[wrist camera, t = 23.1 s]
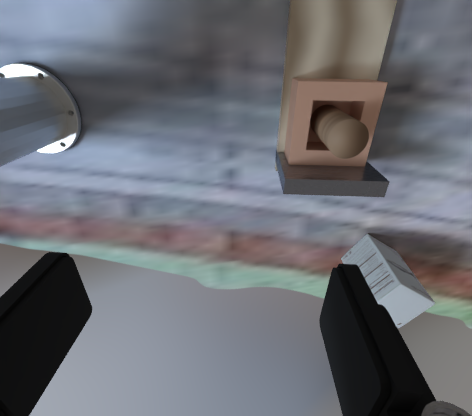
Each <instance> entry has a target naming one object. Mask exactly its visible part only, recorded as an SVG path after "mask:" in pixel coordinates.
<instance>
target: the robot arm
mask: <svg viewBox="0 0 472 416" xmlns="http://www.w3.org/2000/svg"><path fill="white" fill-rule="evenodd" d="M73 112H74V113H73ZM80 131H81V116H80V112H79V109H78V106H77V104H76V101H75V100H74V98H73V96H72V94H71V93H70V92H69V90H68V89H67V88H66V86H65V85H64V84H63V83H62V82H61V81H60V80H59V79H58V78H56V77H55V76H54V75H52V74H51V73H50V72H48V71H46V70H44V69H42V68H40V67H38V66H35V65H31V64H25V63H13V64H9V65H5V66H3V67H1V68H0V167H1V166H3V165H5V164H7V163H10V162H12V161H14V160H16V159H19V158H21V157H23V156H26V155H28V154H30V153H32V152H35V151H38V152H41V153H49V154H51V153H59V152H62V151H64V150H66V149H68V148H70V147H71V146H72V145H74V143H75V142H76V141H77V139H78V137H79V135H80ZM91 313H92V306H91V303H90V300H89V298H88V295H87V293H86V290H85V288H84V285H83V283H82V280H81V278H80V275H79V272H78V270H77V267H76V265H75V262H74V260H73V258H72V257H70V256H69V254H67V253H58V252H49V253H47V254H45V255H44V256H43V257H42V258H41V259H40V260H39V261H38V262H37V263H36V264H35V265H33V266H32V267H31V268H30V269H29V270H28V271H27V272H26V273H25V274H24V275H23V276H22V277H21V278H20V279H19V280H18V281H17V282H16V283H15V284H14V285H13V286H12V287H11V288H10V289H9V290H8V291H6V292H5V294H3V295H2V296H1V297H0V416H29V414H30V413H31V412H32V410H33V408H34V407H35V405H36V403H37V402H38V400H39V399H40V397H41V395H42V394H43V392H44V391H45V389H46V387H47V386H48V384H49V382H50V381H51V379H52V378H53V376H54V374H55V373H56V371H57V369H58V368H59V366H60V364H61V363H62V361H63V360H64V358H65V356H66V355H67V353H68V352H69V350H70V348H71V347H72V345H73V343H74V342H75V340H76V339H77V337H78V335H79V334H80V332H81V331H82V329H83V327H84V326H85V324H86V322H87V321H88V319H89V317H90V315H91ZM320 328H321V332H322V336H323V340H324V344H325V348H326V352H327V356H328V359H329V363H330V367H331V371H332V375H333V379H334V383H335V387H336V390H337V394H338V398H339V402H340V406H341V410H342V414H343V416H471V415H470V414H469V413H467V412H466V411H465V410H463V409H461V408H459V407H457V406H455V405H453V404H451V403H447V402H444V401H436V399H435V397H434V395H433V394H432V392H431V390H430V388H429V387H428V384H427V383H426V381H425V379H424V377H423V375H422V373H421V371H420V370H419V368H418V366H417V364H416V362H415V360H414V358H413V357H412V355H411V353H410V351H409V349H408V347H407V346H406V344H405V342H404V340H403V338H402V336H401V334H400V333H399V331H398V329H397V327H396V325H395V323H394V321H393V320H392V318H391V316H390V314H389V312H388V311H387V309H386V308H385V307H384V306H383V305H380V304H378V303H377V301H376V299H375V297H374V295H373V293H372V292H371V290H370V288H369V286H368V284H367V282H366V280H365V278H364V276H363V274H362V272H361V270H360V268H359V267H358V265H356V264H339V265H338V267H337V268H333V269H332V272H331V276H330V280H329V284H328V288H327V292H326V296H325V299H324V303H323V307H322V311H321V315H320Z"/></svg>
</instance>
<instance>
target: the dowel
mask: <svg viewBox="0 0 472 416" xmlns="http://www.w3.org/2000/svg"><path fill="white" fill-rule="evenodd" d="M310 125H311V128H312V130H313V131H314V132H315V133H316V135H317V136H318V137H319V138H320V139H321V141H322V142H323V143H324V144H325V145H326V146H327V148H328V149H329V150H330V151H331V152H332V154H333V155H335V156H336V157H338V158H342V159H348V158H352V157H355V156H356V155H358V154H359V153H361V152H362V151H363V150H364V148H365V147H366V145H367V143H368V140H369V132H368V129H367V127H366V126H365V124H363V123H362V122H360V121H359V120H357V119H355V118H353V117H352V116H350V115H348V114H347V113H345V112H343V111H341V110H340V109H338V108H336V107H335V106H333V105H322V106H320V107H318V108H317V109H316V110H315V111H314V112H313V114H312V116H311V119H310Z"/></svg>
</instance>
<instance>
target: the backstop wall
mask: <svg viewBox="0 0 472 416" xmlns="http://www.w3.org/2000/svg"><path fill="white" fill-rule="evenodd" d="M276 165H277V169H278V173H279V178H280V182H281V186H282V190H283V194H301V195H334V196H367V197H384V196H385V193H386V190H387V187H388V184H389V181H388V180H387V179H386V178H385V177H384V176H382V175H381V174H380V173H379V172H378V171H377V170H376V169H375V168H374V167H372V166H371V165H370V164H369V163H368V162H367V161H366V164H365V166H328V165H290V164H288V161H287V159H286V156H285V153H284V152H277V151H276Z"/></svg>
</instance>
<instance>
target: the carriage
mask: <svg viewBox="0 0 472 416" xmlns="http://www.w3.org/2000/svg"><path fill="white" fill-rule="evenodd" d="M386 87H387V82H382V81H377V80H371V79H316V78H292V85H291V94H290V104H289V113H288V123H287V132H286V142H285V151H284V153H285V156H286V159H287V161H288V164H290V165H328V166H365V164H366V161H367V157H368V153H369V150H370V146H371V142H372V139H373V135H374V131H375V127H376V124H377V120H378V116H379V113H380V109H381V105H382V102H383V98H384V94H385V90H386ZM322 105H333V106H335V107H336V108H338V109H340V110H341V111H343V112H345V113H347V114H348V115H350V116H352V117H353V118H355V119H357V120H359V121H360V122H362V123H363V124H365V126H366V127H367V129H368V132H369V140H368V143H367V145H366V147H365V148H364V150H363V151H362V152H361V153H359V154H358V155H356V156H355V157H352V158H348V159H342V158H338V157H336V156H335V155H333V154H332V152H331V151H330V150H329V149H328V148H327V146H326V145H325V144H324V143H323V142H322V141H321V139H320V138H319V137H318V136H317V135H316V133H315V132H314V131H313V130H312V128H311V125H310V119H311V116H312V114H313V112H314V111H315V110H316V109H317V108H318V107H320V106H322Z"/></svg>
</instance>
